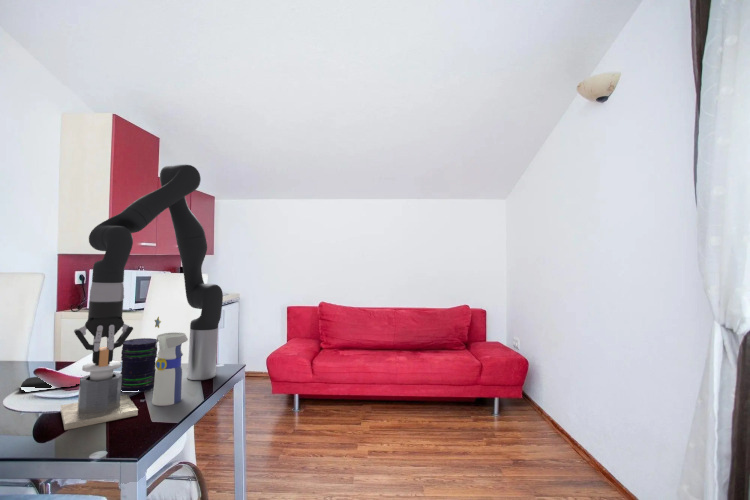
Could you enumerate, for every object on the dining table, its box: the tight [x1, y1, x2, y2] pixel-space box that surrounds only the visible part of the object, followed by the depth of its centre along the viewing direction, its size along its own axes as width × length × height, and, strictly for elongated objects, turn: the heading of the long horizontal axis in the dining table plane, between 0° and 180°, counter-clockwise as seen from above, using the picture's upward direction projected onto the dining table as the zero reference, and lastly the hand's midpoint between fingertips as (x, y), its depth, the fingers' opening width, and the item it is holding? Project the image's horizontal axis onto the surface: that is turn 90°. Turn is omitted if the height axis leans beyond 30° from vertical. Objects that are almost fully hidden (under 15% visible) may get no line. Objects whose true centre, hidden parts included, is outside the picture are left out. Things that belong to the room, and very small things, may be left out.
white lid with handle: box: [81, 346, 122, 381], centre depth 101 cm, size 8×8×8 cm
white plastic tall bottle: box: [151, 316, 189, 406], centre depth 112 cm, size 8×9×25 cm
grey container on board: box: [60, 371, 139, 431], centre depth 101 cm, size 15×15×10 cm
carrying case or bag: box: [19, 376, 52, 394], centre depth 121 cm, size 11×3×15 cm
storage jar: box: [119, 337, 158, 393], centre depth 122 cm, size 10×10×15 cm
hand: (102, 364), depth 101 cm, fingers closed on white lid with handle
